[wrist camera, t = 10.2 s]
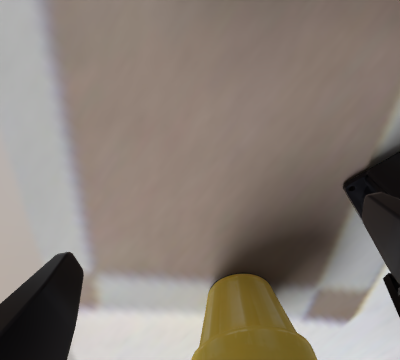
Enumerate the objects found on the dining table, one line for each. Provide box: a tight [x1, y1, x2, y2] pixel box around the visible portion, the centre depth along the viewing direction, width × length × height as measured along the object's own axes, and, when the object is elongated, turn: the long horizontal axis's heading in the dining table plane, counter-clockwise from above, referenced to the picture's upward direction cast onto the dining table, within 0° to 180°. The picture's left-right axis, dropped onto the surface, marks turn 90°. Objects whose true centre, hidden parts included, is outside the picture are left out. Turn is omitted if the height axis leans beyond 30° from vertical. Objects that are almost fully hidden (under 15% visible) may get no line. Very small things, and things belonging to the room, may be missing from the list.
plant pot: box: [191, 274, 317, 360], centre depth 25 cm, size 10×10×10 cm
